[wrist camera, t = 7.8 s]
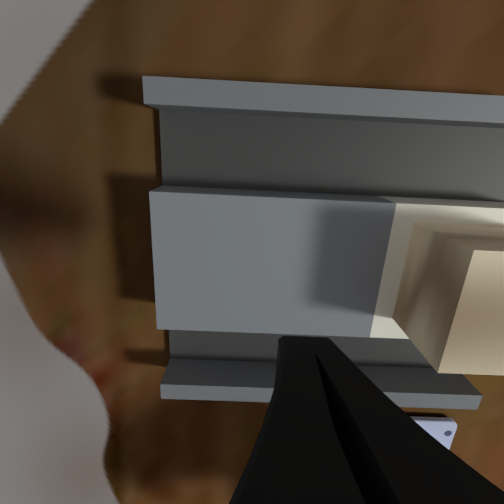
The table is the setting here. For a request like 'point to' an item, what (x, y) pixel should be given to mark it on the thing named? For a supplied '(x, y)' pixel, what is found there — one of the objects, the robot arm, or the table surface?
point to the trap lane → (308, 225)
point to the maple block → (454, 297)
